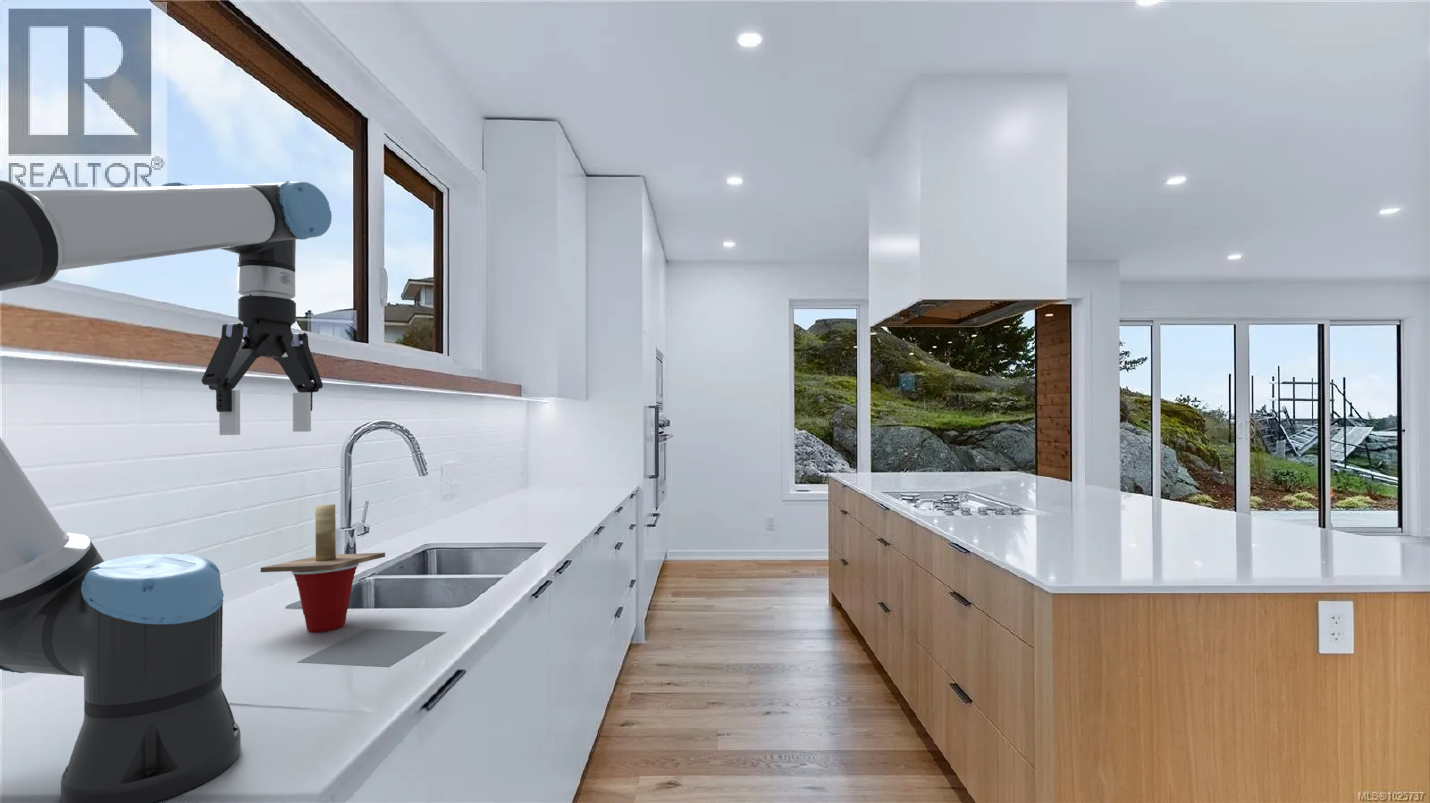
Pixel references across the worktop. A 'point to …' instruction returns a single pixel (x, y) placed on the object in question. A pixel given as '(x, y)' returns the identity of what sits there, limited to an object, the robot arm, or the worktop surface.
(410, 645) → the charcoal mat
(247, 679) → the worktop surface
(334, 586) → the plastic cup
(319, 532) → the walnut lid
